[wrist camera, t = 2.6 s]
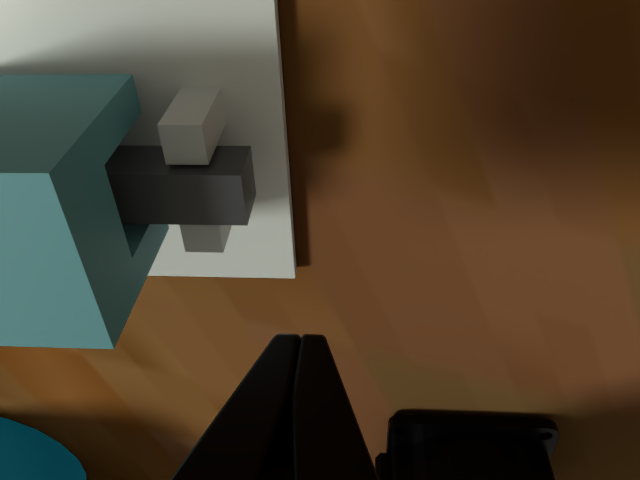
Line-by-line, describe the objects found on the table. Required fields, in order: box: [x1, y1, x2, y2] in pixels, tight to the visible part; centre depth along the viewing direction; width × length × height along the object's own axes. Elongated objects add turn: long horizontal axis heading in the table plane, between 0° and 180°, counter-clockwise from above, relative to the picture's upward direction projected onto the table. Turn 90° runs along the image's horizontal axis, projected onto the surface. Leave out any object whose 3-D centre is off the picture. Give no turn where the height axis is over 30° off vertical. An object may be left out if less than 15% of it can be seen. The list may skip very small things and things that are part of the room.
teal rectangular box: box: [0, 74, 169, 349], centre depth 13 cm, size 4×5×5 cm
